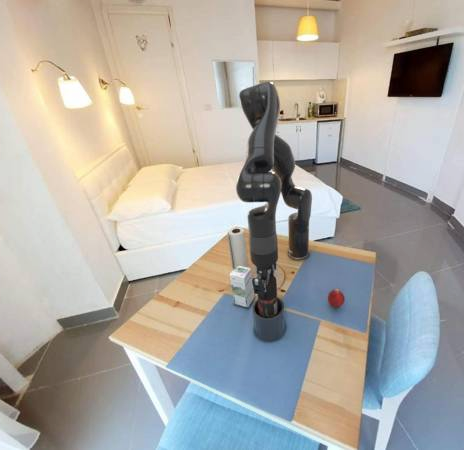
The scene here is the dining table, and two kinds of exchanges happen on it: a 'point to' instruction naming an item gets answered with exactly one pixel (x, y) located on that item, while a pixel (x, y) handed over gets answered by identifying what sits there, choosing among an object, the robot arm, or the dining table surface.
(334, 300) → the onion
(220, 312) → the dining table surface
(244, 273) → the syrup box
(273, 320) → the dark grey cup
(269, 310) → the deodorant
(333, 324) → the dining table surface
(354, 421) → the dining table surface
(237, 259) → the paper towel roll
